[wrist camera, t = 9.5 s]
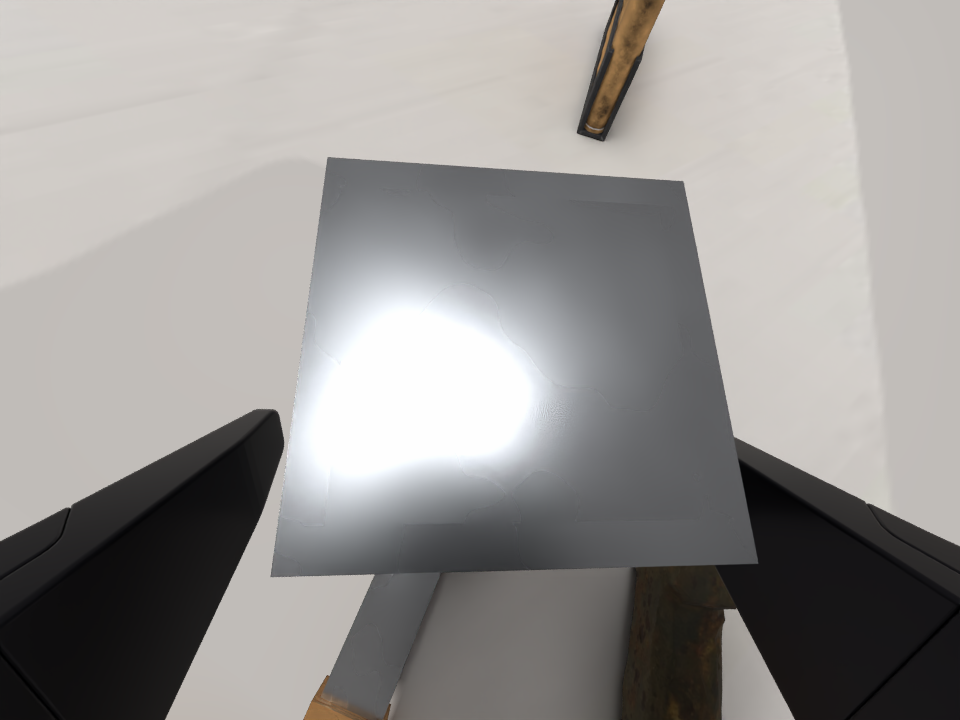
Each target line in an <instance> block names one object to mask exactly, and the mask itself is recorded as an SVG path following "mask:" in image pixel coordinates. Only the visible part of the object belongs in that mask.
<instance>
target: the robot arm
mask: <svg viewBox="0 0 960 720" xmlns="http://www.w3.org/2000/svg"><path fill="white" fill-rule="evenodd" d="M734 441H735V447H736V452H737V457H738V462H739V467H740V472H741V477H742V482H743V487H744V492H745V497H746V502H747V508H748V513H749V518H750V523H751V528H752V533H753V538H754V543H755V548H756V553H757V558H758V563H759V564H728V565H715V567H716V569H717V571H718V573H719V575H720V577H721V579H722V581H723V583H724V585H725V586H726V588H727V590H728V592H729V594H730V596H731V598H732V600H733V602H734V604H735V606H736V608H737V609H738V611H739V613H740V615H741V617H742V619H743V621H744V623H745V625H746V627H747V629H748V631H749V632H750V634H751V636H752V638H753V640H754V642H755V644H756V646H757V648H758V650H759V652H760V653H761V655H762V657H763V659H764V661H765V663H766V665H767V667H768V669H769V671H770V673H771V675H772V676H773V678H774V680H775V682H776V684H777V686H778V688H779V690H780V692H781V694H782V696H783V698H784V699H785V701H786V703H787V705H788V707H789V709H790V711H791V713H792V715H793V717H794V719H795V720H960V546H958V545H955V544H954V543H951V542H949V541H947V540H945V539H943V538H940V537H938V536H936V535H934V534H932V533H930V532H927V531H925V530H923V529H921V528H919V527H917V526H915V525H913V524H911V523H909V522H906V521H905V520H902V519H900V518H898V517H896V516H894V515H892V514H890V513H888V512H886V511H884V510H882V509H880V508H878V507H876V506H874V505H872V504H866V502H865V501H863V500H861V499H859V498H857V497H855V496H853V495H851V494H849V493H847V492H845V491H843V490H841V489H839V488H837V487H835V486H833V485H831V484H829V483H827V482H825V481H823V480H821V479H819V478H817V477H815V476H812V475H810V474H808V473H806V472H804V471H802V470H800V469H798V468H796V467H794V466H792V465H790V464H788V463H786V462H784V461H782V460H780V459H778V458H776V457H774V456H772V455H770V454H768V453H766V452H764V451H762V450H760V449H758V448H756V447H753V446H751V445H749V444H747V443H745V442H743V441H741V440H739V439H737V438H735V437H734ZM283 449H284V437H283V432H282V427H281V422H280V417H279V414H278V412H277V411H276V410H273V409H256V410H253V411H252V412H250V413H248V414H246V415H244V416H242V417H240V418H238V419H236V420H234V421H232V422H231V423H229V424H227V425H225V426H223V427H221V428H219V429H217V430H215V431H213V432H211V433H209V434H207V435H205V436H204V437H201V438H200V439H198V440H196V441H194V442H192V443H190V444H188V445H186V446H184V447H182V448H180V449H178V450H177V451H175V452H173V453H171V454H169V455H167V456H165V457H163V458H161V459H159V460H157V461H155V462H153V463H151V464H150V465H148V466H146V467H144V468H142V469H140V470H138V471H136V472H134V473H132V474H131V475H128V476H126V477H124V478H123V479H121V480H119V481H117V482H115V483H113V484H111V485H109V486H108V487H105V488H103V489H101V490H99V491H98V492H96V493H94V494H92V495H90V496H88V497H86V498H84V499H82V500H80V501H78V502H77V503H74V504H73V505H72V506H71V508H65V509H63V510H61V511H59V512H57V513H55V514H53V515H51V516H49V517H47V518H46V519H44V520H42V521H40V522H38V523H36V524H34V525H32V526H30V527H28V528H26V529H24V530H22V531H20V532H18V533H16V534H14V535H12V536H10V537H8V538H6V539H4V540H2V541H0V720H165V719H166V716H167V714H168V712H169V710H170V708H171V706H172V704H173V702H174V699H175V697H176V695H177V693H178V691H179V689H180V687H181V685H182V682H183V680H184V678H185V676H186V674H187V672H188V670H189V668H190V665H191V663H192V661H193V659H194V657H195V655H196V652H197V651H198V648H199V646H200V644H201V642H202V640H203V638H204V635H205V634H206V631H207V629H208V627H209V625H210V623H211V621H212V619H213V617H214V614H215V612H216V610H217V608H218V606H219V603H220V602H221V600H222V597H223V595H224V593H225V591H226V589H227V587H228V585H229V583H230V580H231V578H232V576H233V574H234V572H235V570H236V568H237V566H238V563H239V561H240V559H241V557H242V555H243V553H244V551H245V548H246V546H247V544H248V542H249V540H250V538H251V536H252V533H253V532H254V529H255V527H256V525H257V523H258V521H259V518H260V516H261V514H262V511H263V509H264V506H265V503H266V500H267V497H268V494H269V491H270V488H271V485H272V482H273V479H274V476H275V473H276V470H277V467H278V464H279V461H280V458H281V456H282V453H283Z"/></svg>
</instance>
